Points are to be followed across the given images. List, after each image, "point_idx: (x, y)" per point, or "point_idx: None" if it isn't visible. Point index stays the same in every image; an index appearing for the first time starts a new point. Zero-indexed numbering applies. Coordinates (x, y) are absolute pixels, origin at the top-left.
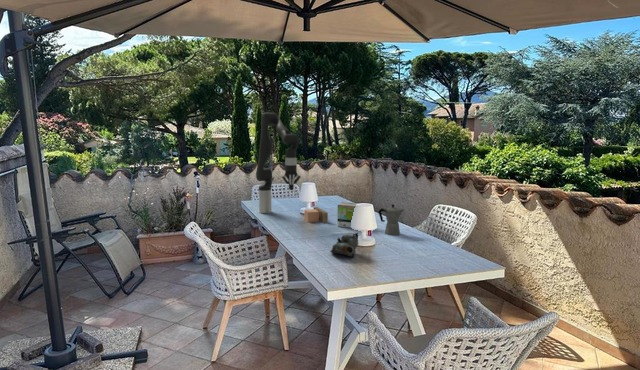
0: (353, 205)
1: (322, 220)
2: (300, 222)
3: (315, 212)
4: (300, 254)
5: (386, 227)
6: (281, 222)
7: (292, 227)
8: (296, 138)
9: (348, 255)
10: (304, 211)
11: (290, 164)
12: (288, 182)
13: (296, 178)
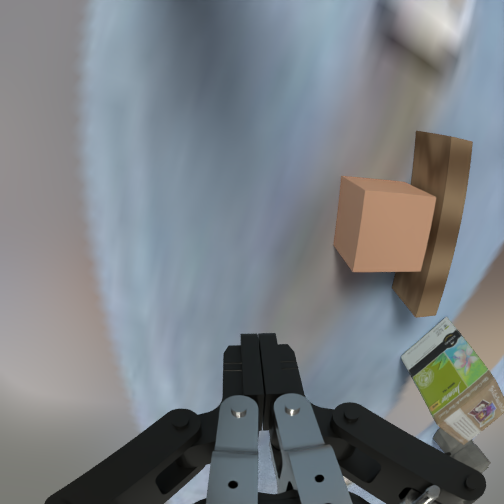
0: (465, 435)
1: (399, 279)
2: (292, 232)
3: (398, 269)
4: (175, 493)
5: (444, 442)
6: (180, 190)
7: (212, 318)
8: None
9: None
10: (361, 190)
11: None
12: (201, 467)
13: (399, 484)
